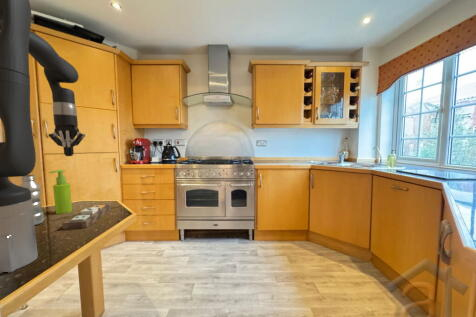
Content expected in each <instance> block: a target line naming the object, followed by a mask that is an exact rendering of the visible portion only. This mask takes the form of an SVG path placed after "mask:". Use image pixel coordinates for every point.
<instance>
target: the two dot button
mask: <svg viewBox="0 0 476 317" xmlns="http://www.w3.org/2000/svg"><path fill="white" fill-rule="evenodd" d="M75 216H76V215H75ZM88 217H90V215H79V216H76V217H75V218H73V219H71V218H70V219H71V221H82V220H85V219H87V218H88Z"/></svg>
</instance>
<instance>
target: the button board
mask: <svg viewBox="0 0 476 317" xmlns="http://www.w3.org/2000/svg"><path fill="white" fill-rule="evenodd" d="M94 205H95V204H93V205H91V206H88V208H91V207H93V206H94ZM104 205H105V207H103V208H102V209H98V211H97V212H96V213H94V214H90V217H88V218H87V219H85V220H82V221H71V219H73V218H75V217H76V216H79V215H81V212H79V213H77V214H76V215H74V216H72V217H71V218H69V219H68V220H66V221H64V222H62V229H63V230H74V229H87V228H89V226H91V225H92V224H94V223H95V222H96V221H97V220H99V219H100V218H101V217H103V216H104V215H106V214H107V213H108V212H110V211H111V210H112V205H111V204H104Z"/></svg>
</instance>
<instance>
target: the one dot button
mask: <svg viewBox="0 0 476 317" xmlns="http://www.w3.org/2000/svg"><path fill="white" fill-rule="evenodd" d="M93 205H94V206H93V207H98V209H102V208H103V207H105V205H106V204H93ZM90 207H91V206H90ZM91 208H92V207H91Z"/></svg>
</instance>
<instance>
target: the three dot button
mask: <svg viewBox="0 0 476 317" xmlns="http://www.w3.org/2000/svg"><path fill="white" fill-rule="evenodd" d="M97 211H98V207H92V208H89V207H86V208H83V209H82V210H80V212H79V213H81V215H90V214H94V213H96V212H97Z"/></svg>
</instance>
